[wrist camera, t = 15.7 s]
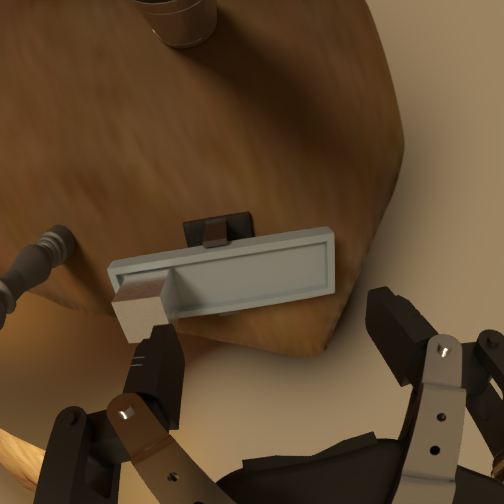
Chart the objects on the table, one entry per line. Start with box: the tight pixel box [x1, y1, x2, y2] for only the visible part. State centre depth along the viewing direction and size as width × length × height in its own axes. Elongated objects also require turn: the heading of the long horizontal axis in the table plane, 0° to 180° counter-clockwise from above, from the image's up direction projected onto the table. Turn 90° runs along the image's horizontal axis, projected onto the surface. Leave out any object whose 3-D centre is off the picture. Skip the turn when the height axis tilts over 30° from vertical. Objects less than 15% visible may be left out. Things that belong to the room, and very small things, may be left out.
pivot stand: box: [183, 212, 252, 317], centre depth 43 cm, size 12×10×9 cm
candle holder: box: [0, 225, 75, 330], centre depth 32 cm, size 6×6×25 cm
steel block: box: [111, 266, 182, 343], centre depth 35 cm, size 6×6×8 cm
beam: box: [107, 226, 335, 318], centre depth 39 cm, size 9×30×3 cm, turn 98°
